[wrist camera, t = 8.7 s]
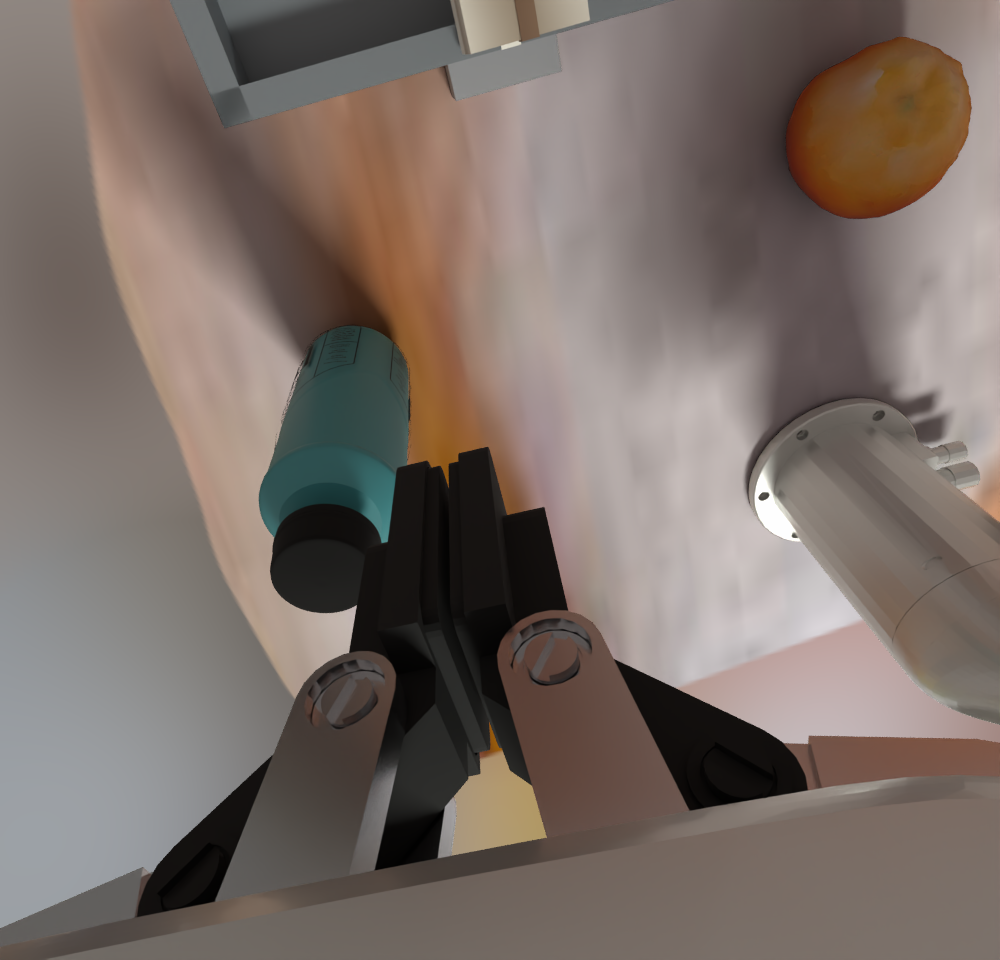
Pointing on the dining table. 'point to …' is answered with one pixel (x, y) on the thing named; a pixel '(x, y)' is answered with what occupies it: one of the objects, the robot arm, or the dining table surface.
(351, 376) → the beverage bottle
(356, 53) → the beam
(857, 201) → the fruit
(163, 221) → the dining table surface
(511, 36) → the rider
